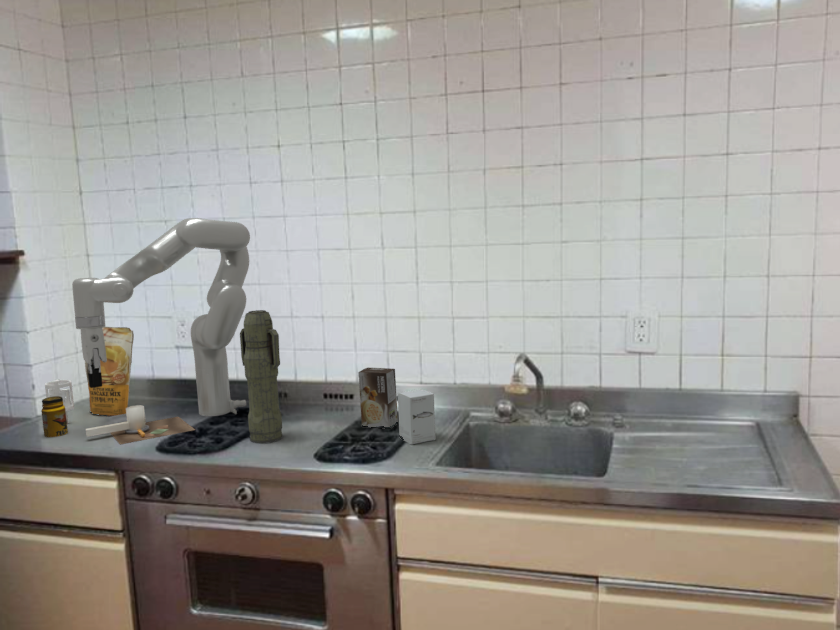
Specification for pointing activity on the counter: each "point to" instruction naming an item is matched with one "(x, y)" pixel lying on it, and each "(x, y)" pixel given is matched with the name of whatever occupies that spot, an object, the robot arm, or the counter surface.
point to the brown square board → (154, 430)
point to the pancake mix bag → (113, 373)
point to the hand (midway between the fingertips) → (95, 386)
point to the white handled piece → (124, 423)
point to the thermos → (261, 376)
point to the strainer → (61, 392)
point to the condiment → (54, 417)
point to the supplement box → (416, 416)
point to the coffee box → (378, 397)
